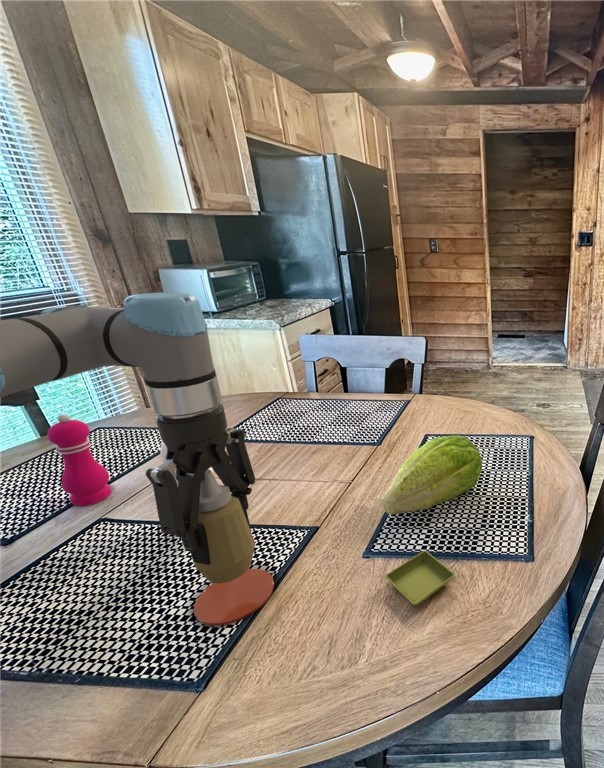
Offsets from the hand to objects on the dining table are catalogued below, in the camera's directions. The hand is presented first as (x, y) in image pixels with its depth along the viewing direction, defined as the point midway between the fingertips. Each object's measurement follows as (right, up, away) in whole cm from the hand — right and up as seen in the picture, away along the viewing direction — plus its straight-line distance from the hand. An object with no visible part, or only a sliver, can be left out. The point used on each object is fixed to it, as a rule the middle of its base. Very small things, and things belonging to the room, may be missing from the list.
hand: (223, 544), depth 65 cm
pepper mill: (-47, 0, +27) cm, 54 cm away
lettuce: (+27, -2, +30) cm, 40 cm away
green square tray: (+29, -10, +7) cm, 32 cm away
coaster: (0, -10, +4) cm, 10 cm away
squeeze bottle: (0, -5, +2) cm, 5 cm away
